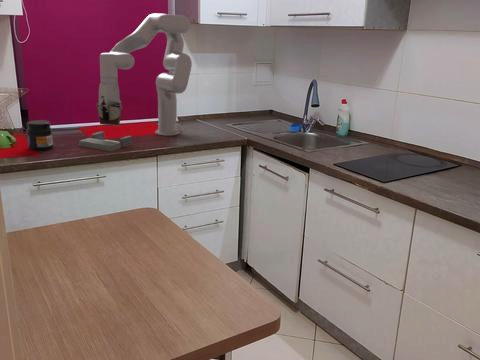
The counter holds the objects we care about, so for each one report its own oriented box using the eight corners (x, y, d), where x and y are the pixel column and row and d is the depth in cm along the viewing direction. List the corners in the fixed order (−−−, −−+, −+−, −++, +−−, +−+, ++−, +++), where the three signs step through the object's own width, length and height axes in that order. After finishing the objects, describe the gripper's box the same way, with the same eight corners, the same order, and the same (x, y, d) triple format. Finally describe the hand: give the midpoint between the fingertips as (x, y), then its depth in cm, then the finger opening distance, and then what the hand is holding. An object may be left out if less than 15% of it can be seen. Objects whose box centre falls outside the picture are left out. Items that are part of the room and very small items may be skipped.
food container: (126, 123, 228) (126, 102, 225) (121, 125, 222) (121, 104, 219) (102, 121, 230) (101, 100, 227) (96, 124, 224) (95, 102, 221)
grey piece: (101, 139, 235) (101, 131, 234) (132, 144, 228) (131, 136, 227) (79, 145, 221) (78, 137, 220) (111, 151, 214) (110, 142, 213)
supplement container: (55, 149, 213) (53, 123, 209) (30, 152, 208) (28, 125, 204) (50, 144, 221) (48, 119, 218) (26, 146, 216) (23, 120, 212)
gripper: (114, 78, 228) (115, 115, 234) (89, 81, 213) (91, 121, 218) (127, 79, 225) (128, 117, 231) (103, 82, 210) (105, 123, 216)
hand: (110, 118), depth 225 cm, fingers closed on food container, 5 cm apart
